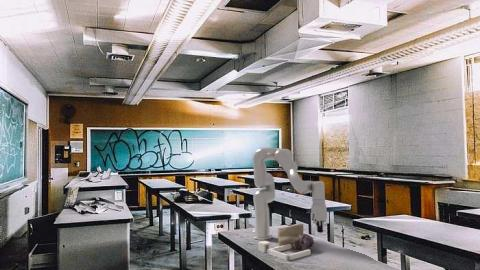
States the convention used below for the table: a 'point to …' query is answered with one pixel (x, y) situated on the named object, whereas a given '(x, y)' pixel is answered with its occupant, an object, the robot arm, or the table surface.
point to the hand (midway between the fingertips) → (320, 232)
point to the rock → (304, 242)
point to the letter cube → (263, 246)
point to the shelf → (289, 234)
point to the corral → (277, 253)
